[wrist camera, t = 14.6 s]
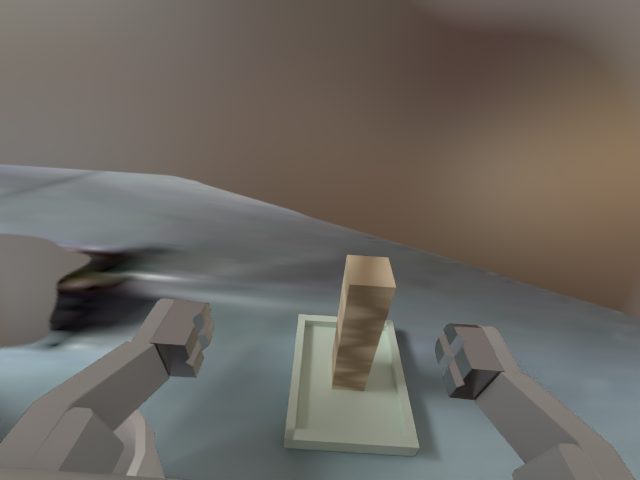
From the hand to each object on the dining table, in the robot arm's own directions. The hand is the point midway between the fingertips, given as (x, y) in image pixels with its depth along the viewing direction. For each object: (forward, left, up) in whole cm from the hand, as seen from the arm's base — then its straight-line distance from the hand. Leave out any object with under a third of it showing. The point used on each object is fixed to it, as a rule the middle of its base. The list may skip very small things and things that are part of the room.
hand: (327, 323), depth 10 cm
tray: (+4, +13, -28) cm, 31 cm away
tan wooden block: (+4, +13, -27) cm, 30 cm away
